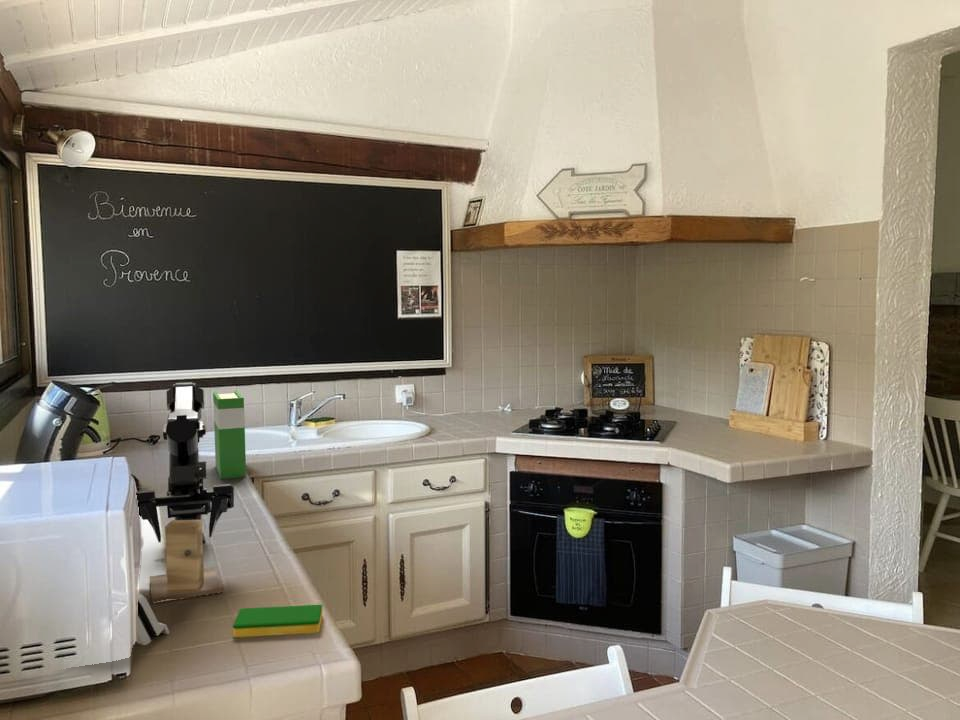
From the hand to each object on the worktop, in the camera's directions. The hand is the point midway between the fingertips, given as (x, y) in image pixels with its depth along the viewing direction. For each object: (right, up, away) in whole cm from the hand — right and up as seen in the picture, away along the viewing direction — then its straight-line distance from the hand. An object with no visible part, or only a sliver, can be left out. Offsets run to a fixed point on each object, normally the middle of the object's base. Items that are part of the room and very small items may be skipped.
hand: (185, 538), depth 152 cm
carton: (-20, 0, +92) cm, 94 cm away
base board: (+1, -9, -2) cm, 9 cm away
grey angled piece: (-3, -11, -22) cm, 24 cm away
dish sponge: (+23, -11, -20) cm, 32 cm away
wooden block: (+2, -8, -4) cm, 9 cm away
